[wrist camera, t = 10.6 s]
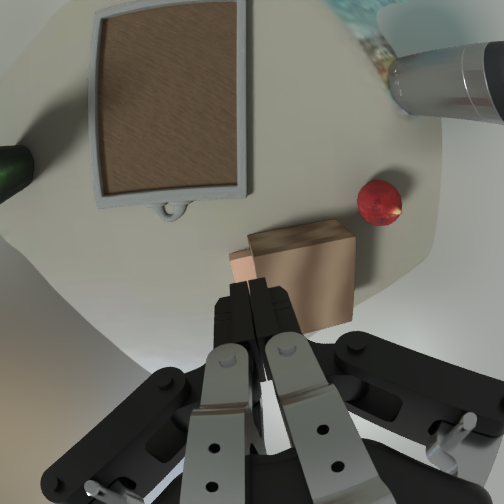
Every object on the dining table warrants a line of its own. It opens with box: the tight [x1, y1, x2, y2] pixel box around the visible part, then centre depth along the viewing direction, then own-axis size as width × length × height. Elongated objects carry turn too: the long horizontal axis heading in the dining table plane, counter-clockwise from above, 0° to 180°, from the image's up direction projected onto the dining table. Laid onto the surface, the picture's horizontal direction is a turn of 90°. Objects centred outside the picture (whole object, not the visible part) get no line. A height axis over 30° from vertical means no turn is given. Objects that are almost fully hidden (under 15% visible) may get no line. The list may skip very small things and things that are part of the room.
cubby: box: [247, 219, 356, 334], centre depth 36 cm, size 12×13×6 cm
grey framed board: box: [88, 0, 247, 222], centre depth 27 cm, size 19×2×30 cm
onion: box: [357, 180, 402, 226], centre depth 31 cm, size 6×6×8 cm
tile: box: [229, 249, 257, 292], centre depth 37 cm, size 13×6×2 cm, turn 101°
